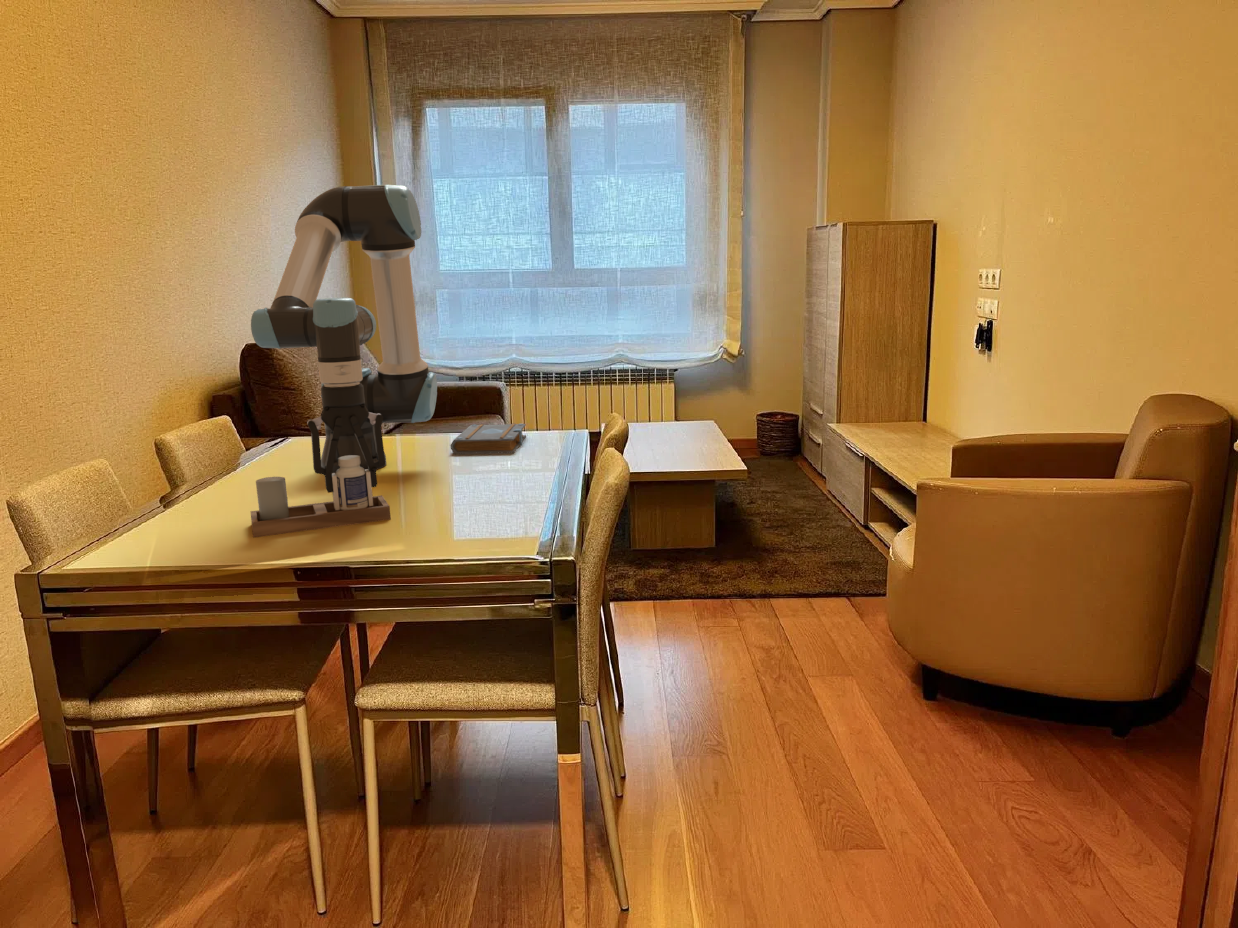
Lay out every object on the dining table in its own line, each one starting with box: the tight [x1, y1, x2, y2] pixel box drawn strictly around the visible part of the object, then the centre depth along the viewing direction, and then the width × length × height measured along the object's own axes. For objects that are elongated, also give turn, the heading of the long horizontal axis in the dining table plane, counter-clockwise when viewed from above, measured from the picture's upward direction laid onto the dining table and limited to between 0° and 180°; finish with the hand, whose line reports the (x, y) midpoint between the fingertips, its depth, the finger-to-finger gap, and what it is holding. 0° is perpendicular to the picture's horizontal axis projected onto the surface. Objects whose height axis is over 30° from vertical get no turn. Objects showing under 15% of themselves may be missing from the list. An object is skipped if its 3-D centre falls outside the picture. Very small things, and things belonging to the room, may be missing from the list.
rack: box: [250, 495, 392, 538], centre depth 171 cm, size 9×24×4 cm, turn 113°
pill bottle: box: [335, 455, 368, 511], centre depth 172 cm, size 5×5×10 cm
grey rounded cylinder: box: [255, 476, 289, 521], centre depth 167 cm, size 5×5×9 cm
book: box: [450, 422, 527, 455], centre depth 242 cm, size 21×16×5 cm
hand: (353, 505), depth 173 cm, fingers closed on pill bottle, 5 cm apart
